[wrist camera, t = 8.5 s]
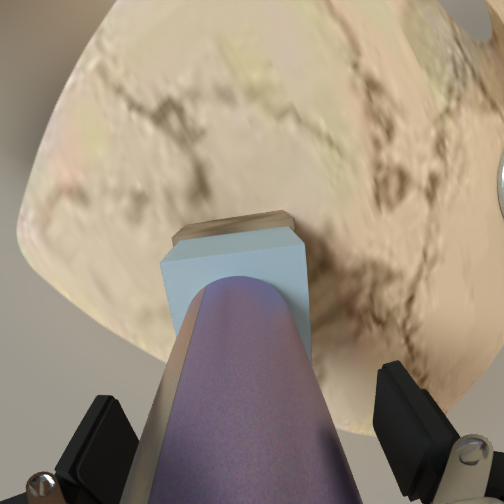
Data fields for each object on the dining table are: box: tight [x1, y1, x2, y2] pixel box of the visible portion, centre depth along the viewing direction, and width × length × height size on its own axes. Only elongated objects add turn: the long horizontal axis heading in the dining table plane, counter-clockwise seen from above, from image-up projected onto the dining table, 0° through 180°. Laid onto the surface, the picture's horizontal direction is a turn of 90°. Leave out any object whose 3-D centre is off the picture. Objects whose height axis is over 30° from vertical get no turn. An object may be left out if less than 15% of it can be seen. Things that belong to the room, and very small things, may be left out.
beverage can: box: [120, 276, 363, 504], centre depth 10 cm, size 6×6×15 cm
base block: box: [172, 210, 295, 247], centre depth 27 cm, size 9×9×6 cm
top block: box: [160, 226, 312, 365], centre depth 21 cm, size 8×8×6 cm
